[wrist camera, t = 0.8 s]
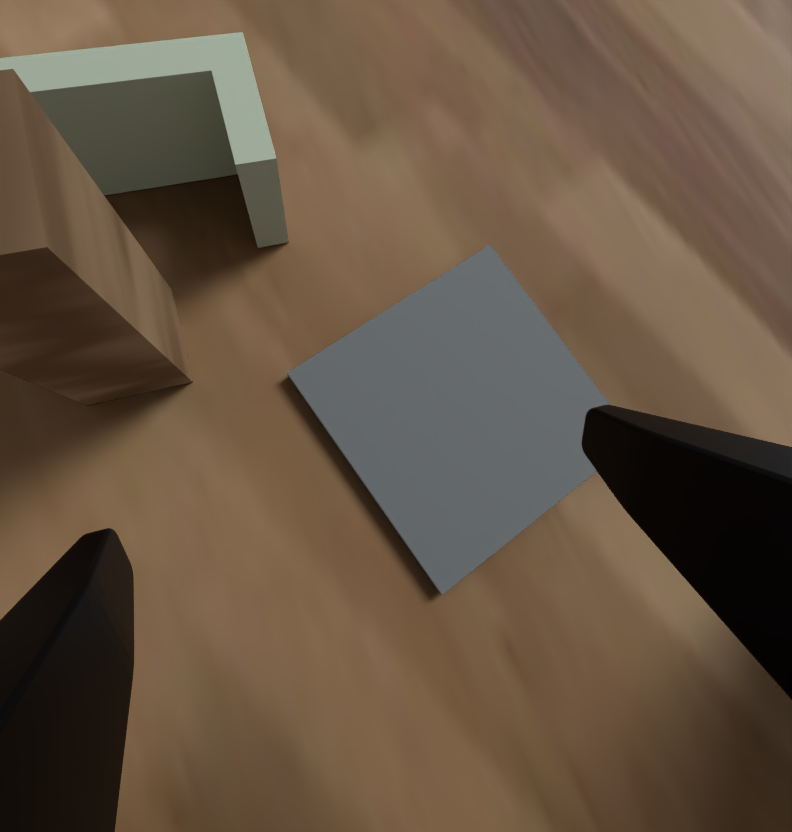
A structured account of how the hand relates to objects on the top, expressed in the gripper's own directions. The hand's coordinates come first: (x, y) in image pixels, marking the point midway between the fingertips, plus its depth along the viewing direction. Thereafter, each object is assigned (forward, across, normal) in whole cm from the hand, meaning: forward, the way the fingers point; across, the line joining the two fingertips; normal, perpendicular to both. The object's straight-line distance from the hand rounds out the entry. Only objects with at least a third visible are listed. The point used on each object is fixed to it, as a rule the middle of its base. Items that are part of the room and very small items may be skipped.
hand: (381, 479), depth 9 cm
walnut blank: (+17, +7, +2) cm, 18 cm away
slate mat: (+12, -7, +6) cm, 15 cm away
